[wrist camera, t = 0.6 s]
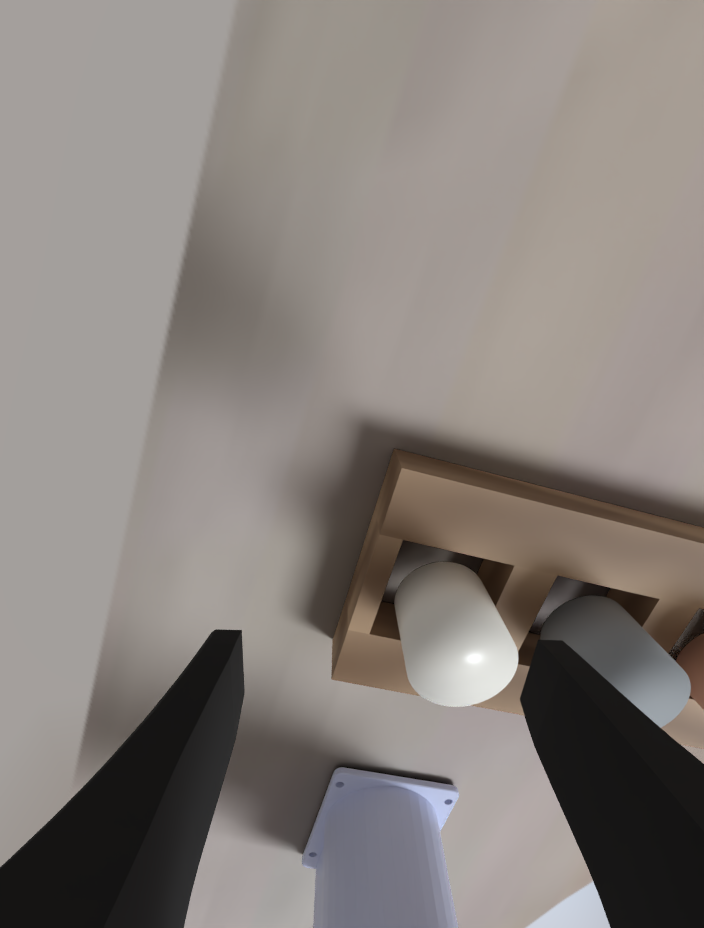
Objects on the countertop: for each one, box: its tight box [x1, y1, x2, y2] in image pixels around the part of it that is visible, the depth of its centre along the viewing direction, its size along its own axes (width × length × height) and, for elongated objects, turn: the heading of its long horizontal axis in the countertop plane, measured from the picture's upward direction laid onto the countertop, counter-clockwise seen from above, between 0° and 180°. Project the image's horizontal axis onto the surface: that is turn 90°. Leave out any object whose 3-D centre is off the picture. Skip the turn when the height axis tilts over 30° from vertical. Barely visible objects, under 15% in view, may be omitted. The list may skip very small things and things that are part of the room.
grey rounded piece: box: [540, 596, 691, 728], centre depth 17 cm, size 4×4×4 cm
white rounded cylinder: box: [394, 562, 518, 707], centre depth 16 cm, size 4×4×4 cm
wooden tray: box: [332, 449, 704, 749], centre depth 20 cm, size 11×21×2 cm, turn 75°
